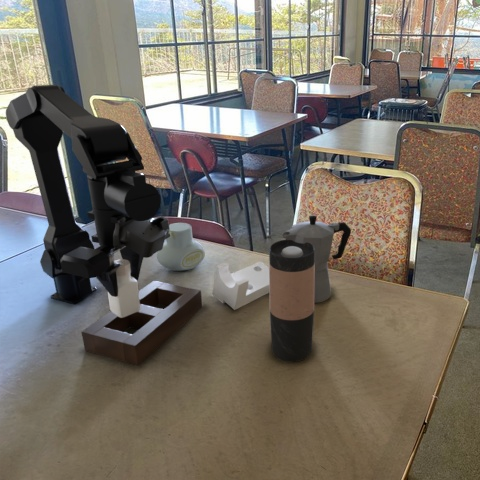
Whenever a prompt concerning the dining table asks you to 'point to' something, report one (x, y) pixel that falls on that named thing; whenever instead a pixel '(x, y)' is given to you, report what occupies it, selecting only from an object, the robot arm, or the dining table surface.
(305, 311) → the travel mug
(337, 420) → the dining table surface
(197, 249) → the air freshener
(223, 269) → the bracket
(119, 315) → the salt shaker
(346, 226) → the coffeepot
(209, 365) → the dining table surface
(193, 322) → the dining table surface
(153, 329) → the stand
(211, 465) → the dining table surface
